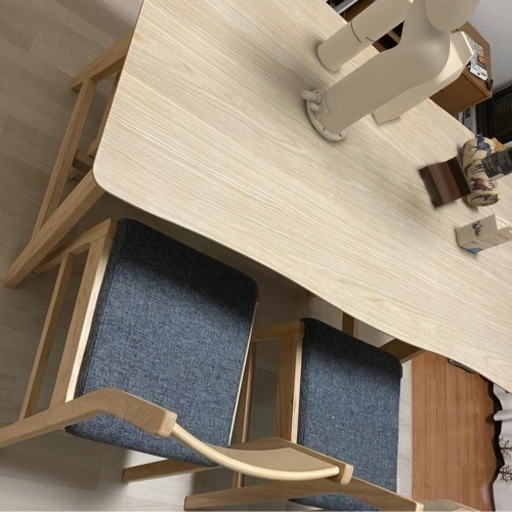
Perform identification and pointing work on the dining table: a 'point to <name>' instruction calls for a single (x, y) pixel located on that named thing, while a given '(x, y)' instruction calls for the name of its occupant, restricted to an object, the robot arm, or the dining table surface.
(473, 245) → the ink box
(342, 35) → the cylindrical container
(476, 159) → the pencil case
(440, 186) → the shelf
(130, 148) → the dining table surface
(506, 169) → the pill bottle
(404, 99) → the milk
